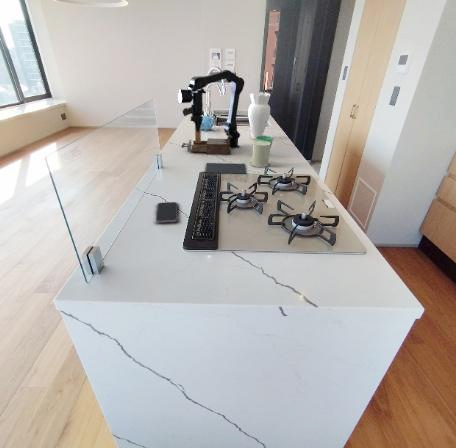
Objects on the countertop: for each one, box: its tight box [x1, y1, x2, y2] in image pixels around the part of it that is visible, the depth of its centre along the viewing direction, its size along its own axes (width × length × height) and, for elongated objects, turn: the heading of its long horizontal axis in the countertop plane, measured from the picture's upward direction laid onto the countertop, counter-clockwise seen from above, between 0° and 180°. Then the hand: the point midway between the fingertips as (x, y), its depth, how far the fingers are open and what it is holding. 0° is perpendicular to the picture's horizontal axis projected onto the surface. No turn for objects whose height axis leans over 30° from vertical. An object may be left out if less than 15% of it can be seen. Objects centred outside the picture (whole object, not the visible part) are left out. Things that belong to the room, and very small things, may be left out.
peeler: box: [194, 125, 202, 143], centre depth 167 cm, size 3×3×12 cm
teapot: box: [201, 114, 215, 132], centre depth 217 cm, size 13×13×10 cm
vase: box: [247, 91, 271, 141], centre depth 193 cm, size 15×15×29 cm
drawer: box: [181, 139, 207, 153], centre depth 171 cm, size 16×11×4 cm
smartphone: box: [155, 201, 178, 224], centre depth 105 cm, size 7×1×15 cm
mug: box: [255, 134, 274, 149], centre depth 167 cm, size 15×10×10 cm
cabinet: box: [206, 137, 231, 156], centre depth 171 cm, size 14×13×6 cm
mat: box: [205, 162, 247, 175], centre depth 147 cm, size 20×14×1 cm
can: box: [250, 140, 272, 168], centre depth 150 cm, size 9×9×12 cm
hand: (198, 131), depth 166 cm, fingers closed on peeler, 3 cm apart
